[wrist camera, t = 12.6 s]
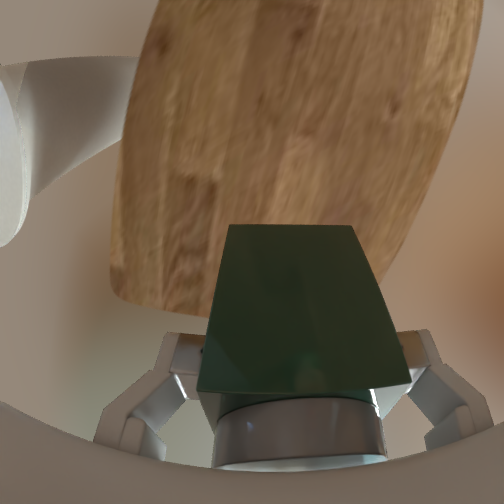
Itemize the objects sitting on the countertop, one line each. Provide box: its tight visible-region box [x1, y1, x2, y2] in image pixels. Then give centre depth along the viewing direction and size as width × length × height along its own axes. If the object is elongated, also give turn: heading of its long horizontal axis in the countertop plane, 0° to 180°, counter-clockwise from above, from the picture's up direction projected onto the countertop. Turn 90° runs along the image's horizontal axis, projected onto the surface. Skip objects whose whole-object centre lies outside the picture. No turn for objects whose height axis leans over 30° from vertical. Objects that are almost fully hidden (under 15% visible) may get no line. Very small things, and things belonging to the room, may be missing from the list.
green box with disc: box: [196, 224, 412, 472], centre depth 12 cm, size 11×6×6 cm
